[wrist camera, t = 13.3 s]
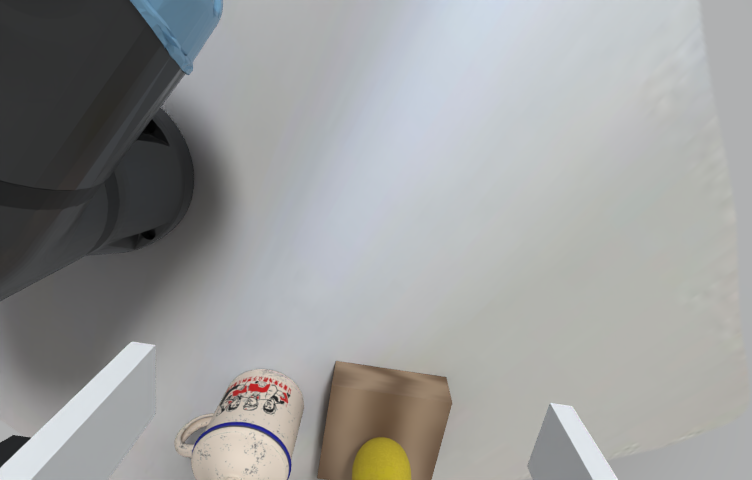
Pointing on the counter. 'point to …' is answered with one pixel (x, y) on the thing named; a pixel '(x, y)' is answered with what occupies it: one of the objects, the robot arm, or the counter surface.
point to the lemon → (381, 461)
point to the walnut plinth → (383, 417)
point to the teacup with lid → (247, 430)
